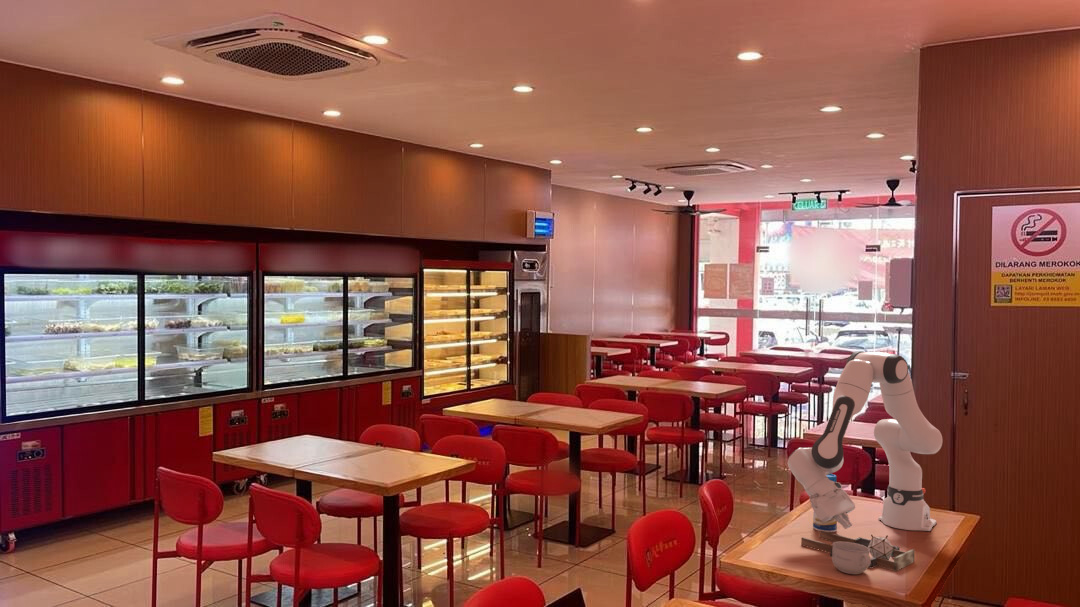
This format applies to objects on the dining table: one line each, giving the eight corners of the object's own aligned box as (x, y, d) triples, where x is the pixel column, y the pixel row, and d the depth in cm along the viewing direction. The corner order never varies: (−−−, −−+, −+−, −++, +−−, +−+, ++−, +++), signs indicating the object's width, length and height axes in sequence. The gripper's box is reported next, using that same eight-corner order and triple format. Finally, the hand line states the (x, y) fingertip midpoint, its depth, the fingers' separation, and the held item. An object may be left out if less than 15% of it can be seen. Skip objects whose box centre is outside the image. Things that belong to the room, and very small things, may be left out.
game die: (884, 574, 256) (892, 555, 250) (858, 559, 261) (865, 540, 255) (894, 555, 262) (902, 537, 256) (869, 541, 266) (876, 522, 260)
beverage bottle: (834, 527, 295) (836, 473, 294) (839, 533, 286) (841, 478, 286) (810, 525, 296) (812, 471, 296) (814, 531, 288) (816, 476, 288)
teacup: (825, 565, 252) (826, 539, 252) (858, 565, 253) (859, 540, 253) (846, 581, 238) (847, 554, 238) (881, 581, 239) (882, 554, 239)
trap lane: (825, 535, 284) (826, 524, 283) (918, 559, 260) (919, 547, 260) (796, 547, 269) (796, 535, 269) (891, 573, 246) (892, 560, 246)
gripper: (813, 491, 265) (841, 527, 258) (842, 482, 279) (869, 516, 272) (800, 501, 268) (827, 538, 261) (829, 492, 282) (855, 526, 275)
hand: (849, 527), depth 267 cm, fingers closed
